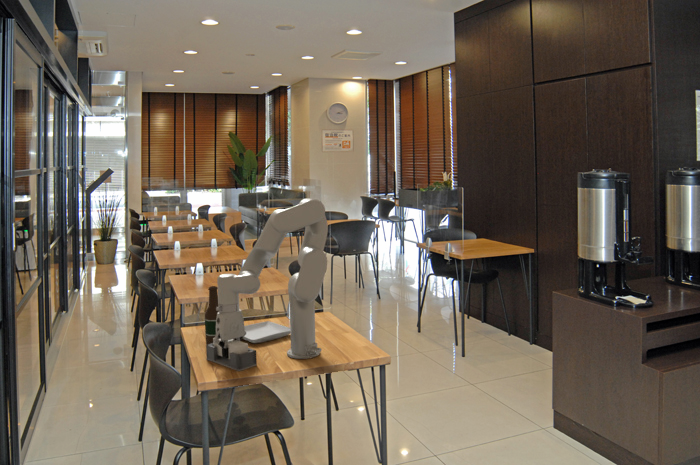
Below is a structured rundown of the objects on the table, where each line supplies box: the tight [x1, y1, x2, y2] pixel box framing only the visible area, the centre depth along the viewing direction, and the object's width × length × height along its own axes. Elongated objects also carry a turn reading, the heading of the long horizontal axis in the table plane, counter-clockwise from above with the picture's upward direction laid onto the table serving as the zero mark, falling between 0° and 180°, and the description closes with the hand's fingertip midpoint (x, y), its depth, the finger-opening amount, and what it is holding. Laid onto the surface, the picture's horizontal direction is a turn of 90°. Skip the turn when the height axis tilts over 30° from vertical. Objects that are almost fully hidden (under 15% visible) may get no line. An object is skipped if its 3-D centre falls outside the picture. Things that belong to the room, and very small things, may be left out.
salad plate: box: [242, 320, 290, 344], centre depth 239 cm, size 21×21×3 cm
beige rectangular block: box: [213, 338, 249, 359], centre depth 205 cm, size 16×4×6 cm, turn 48°
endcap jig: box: [205, 343, 258, 372], centre depth 205 cm, size 20×8×6 cm, turn 48°
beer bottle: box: [204, 285, 219, 346], centre depth 228 cm, size 8×8×24 cm
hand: (230, 355), depth 205 cm, fingers closed on beige rectangular block, 4 cm apart
